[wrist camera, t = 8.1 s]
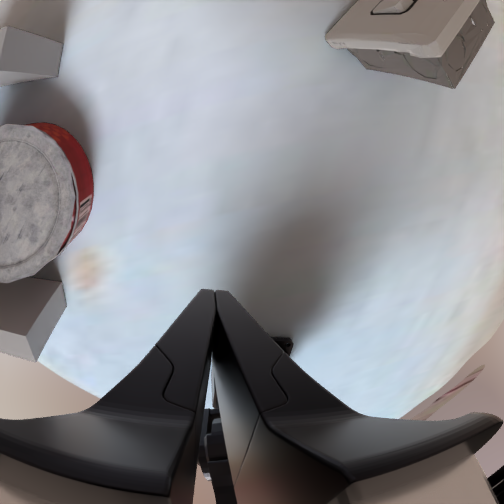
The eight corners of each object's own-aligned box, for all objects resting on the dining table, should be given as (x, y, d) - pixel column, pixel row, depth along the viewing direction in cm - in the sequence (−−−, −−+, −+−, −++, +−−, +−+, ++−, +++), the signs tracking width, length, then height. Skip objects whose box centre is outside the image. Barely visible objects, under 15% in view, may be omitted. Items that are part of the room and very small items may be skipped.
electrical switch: (382, -26, 13) (467, -52, 5) (424, 20, 15) (513, 16, 8) (317, 41, 16) (405, 18, 8) (369, 89, 18) (465, 103, 10)
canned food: (31, 136, 20) (-27, 84, 10) (123, 158, 21) (81, 93, 11) (-8, 258, 19) (-85, 253, 9) (79, 297, 20) (7, 316, 10)
